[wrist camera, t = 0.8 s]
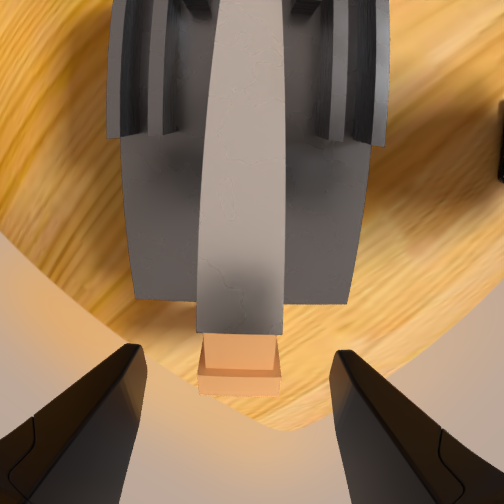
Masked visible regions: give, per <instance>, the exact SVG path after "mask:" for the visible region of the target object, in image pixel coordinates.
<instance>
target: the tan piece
mask: <svg viewBox="0 0 504 504" xmlns="http://www.w3.org/2000/svg"><path fill="white" fill-rule="evenodd" d="M203 336H204V337H203V343H202V349H201V355H200V360H199V367H198V373H197V379H198V388H199V394H200V395H216V396H246V397H279V390H280V384H281V370H280V362H279V353H278V345H277V335H247V334H216V333H203Z"/></svg>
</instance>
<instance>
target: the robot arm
mask: <svg viewBox="0 0 504 504" xmlns="http://www.w3.org/2000/svg"><path fill="white" fill-rule="evenodd" d="M503 176H504V132H503V142H502V151H501V159H500V166H499V173H498V179H499V181H500V182H502V183H504V178H503ZM146 379H147V365H146V361H145V356H144V351H143V348H142V346H141V345H139V344H131V343H127V344H124V345H123V346H122V347H120V348H119V349H118V350H117V351H115V352H114V353H113V354H112V355H110V356H109V357H108V358H107V359H105V360H104V361H102V362H101V363H100V364H99V365H97V366H96V367H95V368H93V369H92V370H91V371H90V372H88V373H87V374H86V375H84V376H83V377H82V378H81V379H79V380H78V381H77V382H75V383H74V384H73V385H71V386H70V387H69V388H68V389H66V390H65V391H64V392H63V393H61V394H60V395H59V396H57V397H56V398H55V399H53V400H52V401H51V402H50V403H48V404H47V405H46V406H45V407H43V408H42V409H41V410H39V411H38V412H37V413H36V414H34V417H30V418H29V419H28V420H26V421H25V422H24V423H23V424H21V425H20V426H19V427H17V428H16V429H14V430H13V431H12V432H10V433H9V434H8V435H6V436H5V437H3V438H2V439H0V504H119V500H120V497H121V493H122V488H123V484H124V480H125V476H126V472H127V469H128V465H129V461H130V457H131V453H132V450H133V445H134V442H135V439H136V435H137V431H138V427H139V422H140V416H141V410H142V404H143V397H144V391H145V385H146ZM329 381H330V390H331V398H332V407H333V415H334V424H335V431H336V436H337V441H338V445H339V449H340V453H341V458H342V462H343V466H344V471H345V475H346V480H347V484H348V489H349V493H350V498H351V503H352V504H504V473H503V472H502V471H500V470H499V469H497V468H495V467H494V466H492V465H491V464H489V463H488V462H486V461H485V460H483V459H482V458H481V457H479V456H478V455H476V454H475V453H474V452H472V451H471V450H469V449H468V448H467V447H465V446H464V445H463V444H462V443H460V442H459V441H458V440H457V439H455V438H454V437H453V436H452V435H450V434H449V433H448V432H447V431H446V430H445V429H441V426H440V425H438V424H437V423H436V422H435V421H434V420H433V419H431V418H430V417H429V416H428V415H427V414H426V413H425V412H423V411H422V410H421V409H420V408H419V407H418V406H416V405H415V404H414V403H413V402H412V401H411V400H409V399H408V398H407V397H406V396H405V395H404V394H403V393H401V392H400V391H399V390H398V389H397V388H396V387H394V386H393V385H392V384H391V383H390V382H388V381H387V380H386V379H385V378H384V377H383V376H382V375H381V374H379V373H378V372H377V371H376V370H375V369H374V368H372V367H371V366H370V365H369V364H368V363H367V362H366V361H364V360H363V359H362V358H361V357H360V356H359V355H357V354H356V353H355V352H354V351H352V350H338V351H336V353H335V355H334V359H333V363H332V367H331V370H330V376H329Z"/></svg>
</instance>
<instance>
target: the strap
mask: <svg viewBox="0 0 504 504" xmlns="http://www.w3.org/2000/svg"><path fill="white" fill-rule="evenodd" d="M285 179H286V164H285V81H284V46H283V19H282V0H220V5H219V12H218V19H217V27H216V34H215V42H214V51H213V59H212V68H211V77H210V86H209V96H208V106H207V117H206V129H205V141H204V154H203V168H202V183H201V199H200V218H199V240H198V267H197V310H196V333H216V334H247V335H282V332H283V302H284V264H285Z"/></svg>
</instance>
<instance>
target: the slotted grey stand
mask: <svg viewBox="0 0 504 504" xmlns="http://www.w3.org/2000/svg"><path fill="white" fill-rule="evenodd" d="M219 5H220V0H113V6H112V15H111V25H110V36H109V49H108V66H107V100H106V121H107V139H111V138H120V144H121V169H122V186H123V200H124V212H125V223H126V232H127V241H128V250H129V258H130V265H131V273H132V280H133V286H134V293H135V299H151V300H168V301H188V302H197V267H198V240H199V218H200V199H201V183H202V168H203V154H204V141H205V129H206V117H207V106H208V96H209V86H210V77H211V68H212V59H213V51H214V42H215V34H216V27H217V19H218V12H219ZM282 19H283V46H284V81H285V164H286V179H285V264H284V302H283V304H347V301H348V296H349V291H350V287H351V281H352V276H353V271H354V266H355V260H356V255H357V249H358V243H359V237H360V231H361V224H362V218H363V211H364V204H365V197H366V189H367V181H368V172H369V163H370V154H371V145H374V146H381V147H385V136H386V124H387V110H388V93H389V67H390V19H389V0H282Z"/></svg>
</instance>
